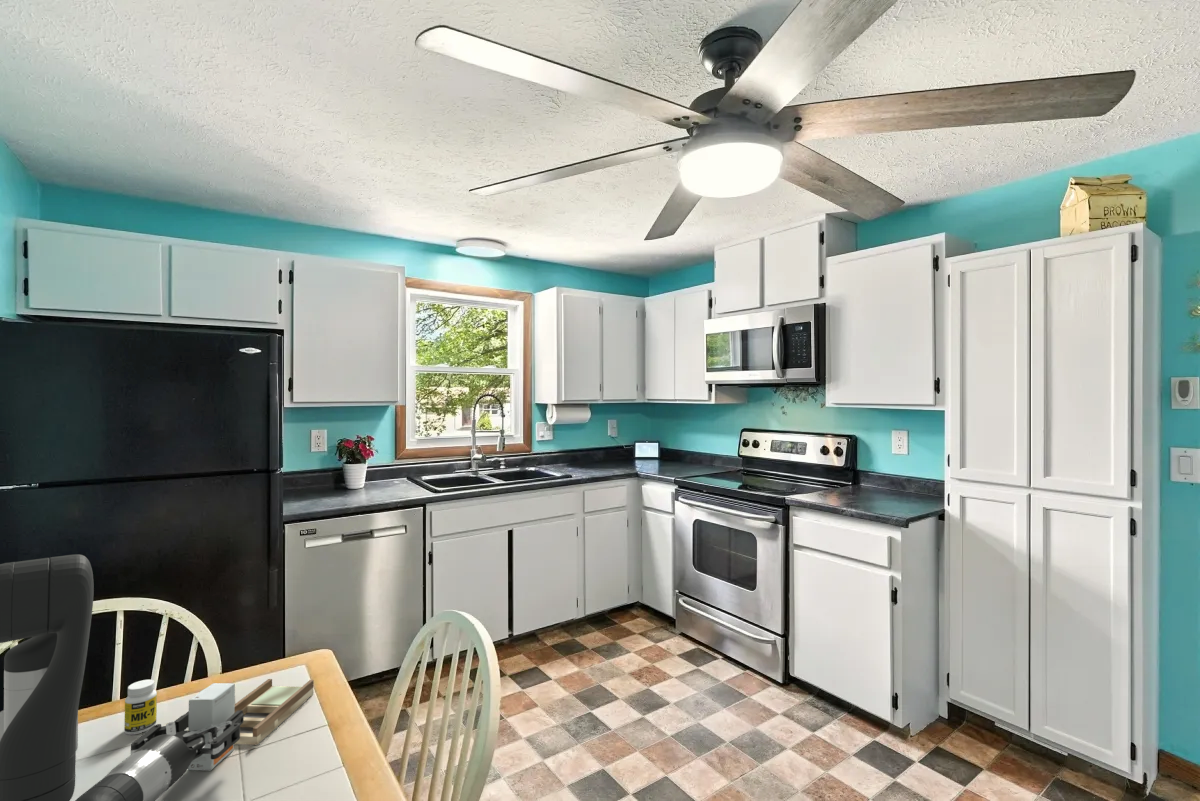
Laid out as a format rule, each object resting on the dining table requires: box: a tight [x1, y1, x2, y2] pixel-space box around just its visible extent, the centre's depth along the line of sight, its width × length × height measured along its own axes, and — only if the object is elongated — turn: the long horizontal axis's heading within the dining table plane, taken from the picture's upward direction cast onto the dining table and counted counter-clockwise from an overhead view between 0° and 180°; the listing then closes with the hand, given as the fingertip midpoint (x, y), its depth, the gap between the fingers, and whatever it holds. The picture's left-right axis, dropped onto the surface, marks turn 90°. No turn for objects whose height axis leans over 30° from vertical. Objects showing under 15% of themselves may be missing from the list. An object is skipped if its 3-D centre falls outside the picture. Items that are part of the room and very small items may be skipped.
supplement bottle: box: [124, 679, 158, 736], centre depth 108 cm, size 5×5×8 cm
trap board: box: [234, 678, 314, 746], centre depth 111 cm, size 10×18×3 cm, turn 177°
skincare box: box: [187, 682, 236, 771], centre depth 98 cm, size 6×4×12 cm
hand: (216, 715), depth 99 cm, fingers open, 8 cm apart
